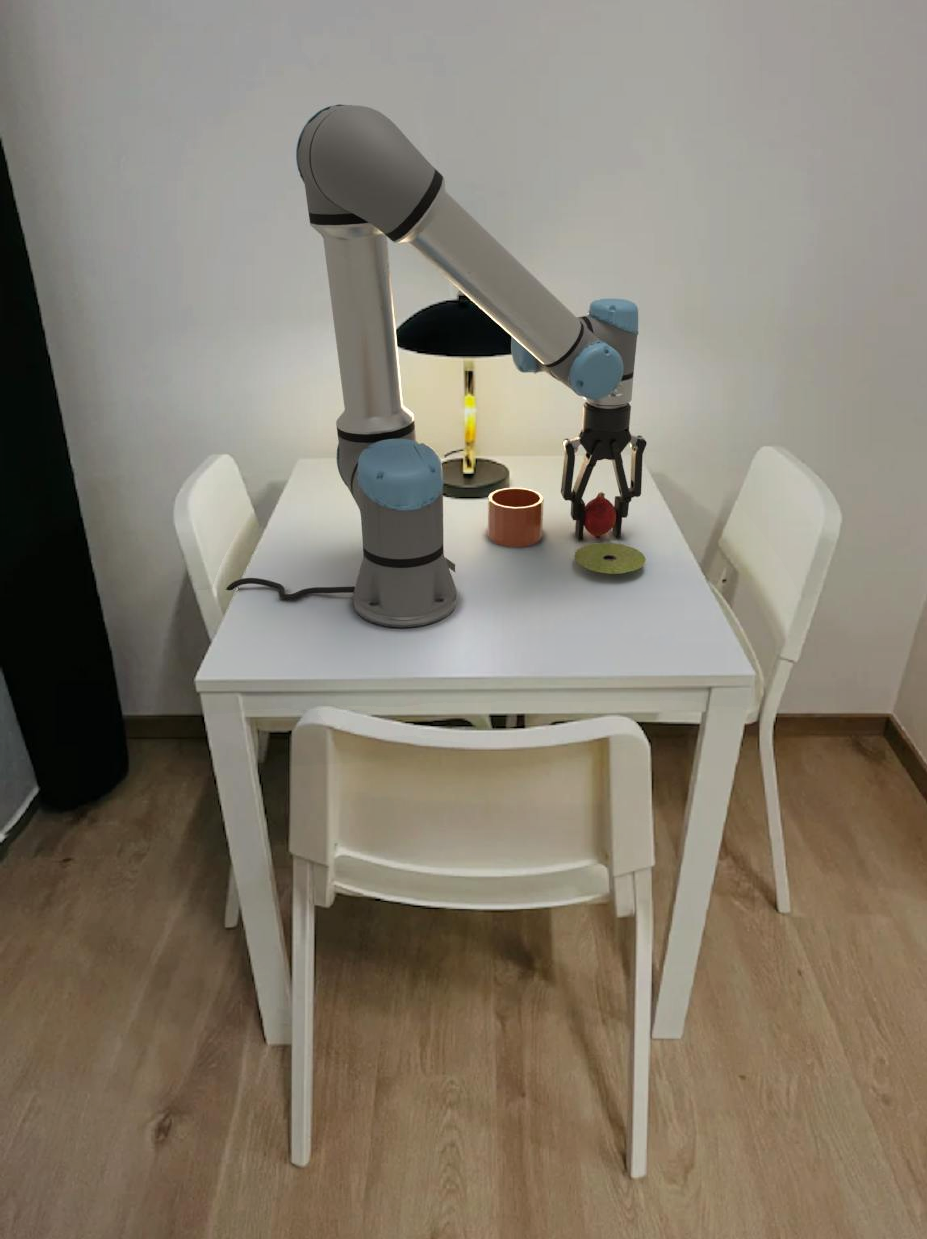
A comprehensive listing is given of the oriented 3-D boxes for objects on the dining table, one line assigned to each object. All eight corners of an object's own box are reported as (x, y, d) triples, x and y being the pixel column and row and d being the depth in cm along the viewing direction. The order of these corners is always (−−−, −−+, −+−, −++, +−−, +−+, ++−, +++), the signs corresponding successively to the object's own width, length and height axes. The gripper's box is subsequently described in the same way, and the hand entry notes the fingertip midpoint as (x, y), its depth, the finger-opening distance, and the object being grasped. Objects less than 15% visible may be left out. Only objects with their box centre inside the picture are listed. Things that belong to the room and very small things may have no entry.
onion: (613, 545, 154) (617, 500, 150) (579, 542, 155) (581, 498, 151) (615, 531, 159) (619, 488, 155) (582, 528, 160) (585, 485, 156)
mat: (640, 587, 140) (641, 576, 139) (567, 579, 143) (568, 567, 142) (647, 557, 150) (649, 546, 149) (579, 549, 152) (580, 538, 151)
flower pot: (491, 548, 153) (492, 509, 149) (484, 526, 161) (485, 488, 157) (546, 545, 154) (547, 507, 150) (536, 523, 162) (537, 486, 158)
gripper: (553, 411, 141) (547, 547, 153) (672, 407, 143) (657, 541, 154) (544, 397, 148) (539, 529, 159) (658, 393, 149) (645, 523, 161)
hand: (597, 535), depth 157 cm, fingers closed on onion, 6 cm apart
